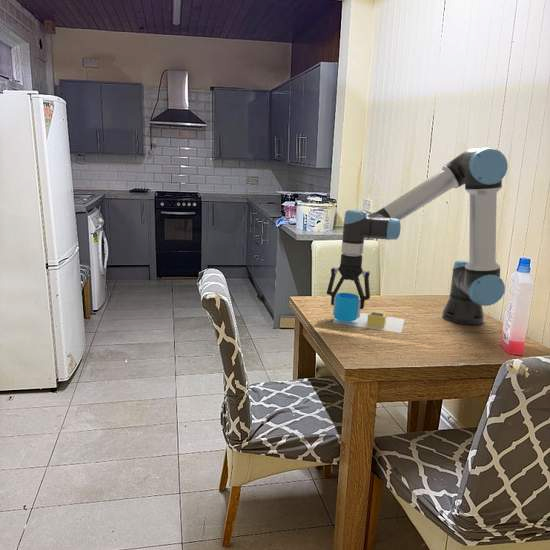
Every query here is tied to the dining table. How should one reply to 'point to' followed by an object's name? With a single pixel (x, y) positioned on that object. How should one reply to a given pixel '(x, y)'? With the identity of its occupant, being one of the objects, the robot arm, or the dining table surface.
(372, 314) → the block
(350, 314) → the mug
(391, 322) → the drywall panel
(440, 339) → the dining table surface
